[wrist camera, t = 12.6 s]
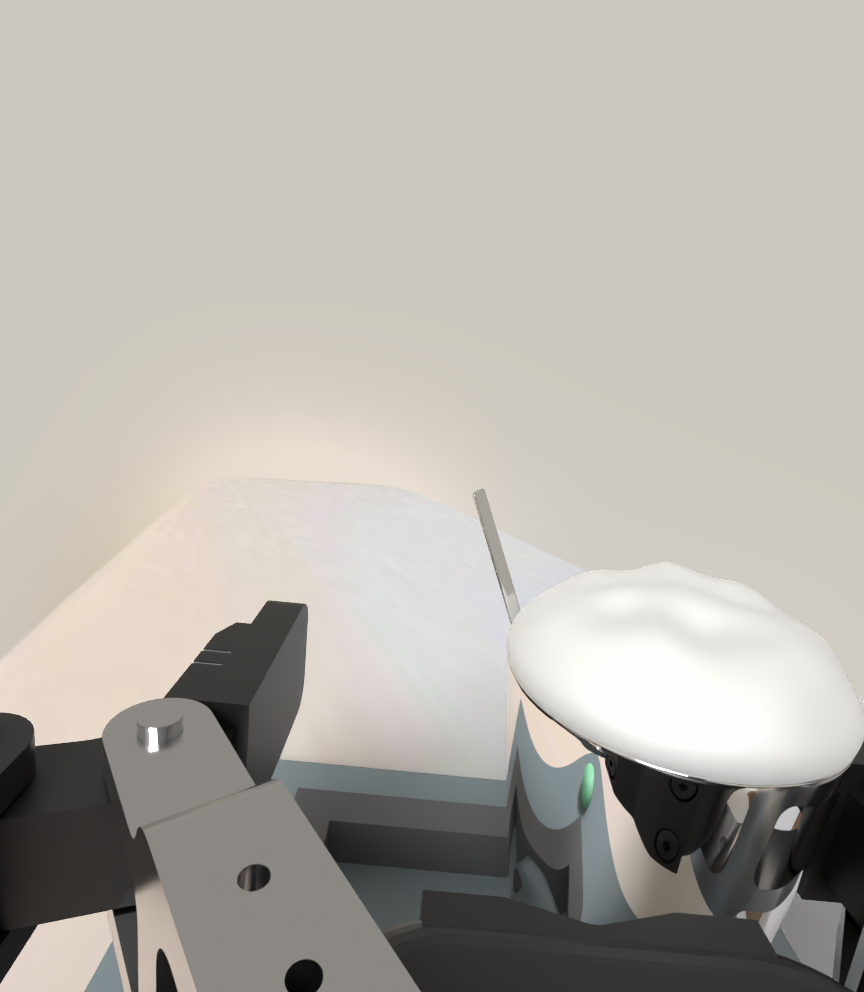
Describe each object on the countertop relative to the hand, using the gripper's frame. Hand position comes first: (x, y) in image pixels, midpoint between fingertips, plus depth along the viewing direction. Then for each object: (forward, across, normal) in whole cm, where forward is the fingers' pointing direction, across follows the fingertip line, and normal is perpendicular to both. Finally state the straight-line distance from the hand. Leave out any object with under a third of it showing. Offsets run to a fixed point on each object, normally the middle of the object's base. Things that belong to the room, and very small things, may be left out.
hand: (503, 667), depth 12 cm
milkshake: (-3, -2, +6) cm, 7 cm away
